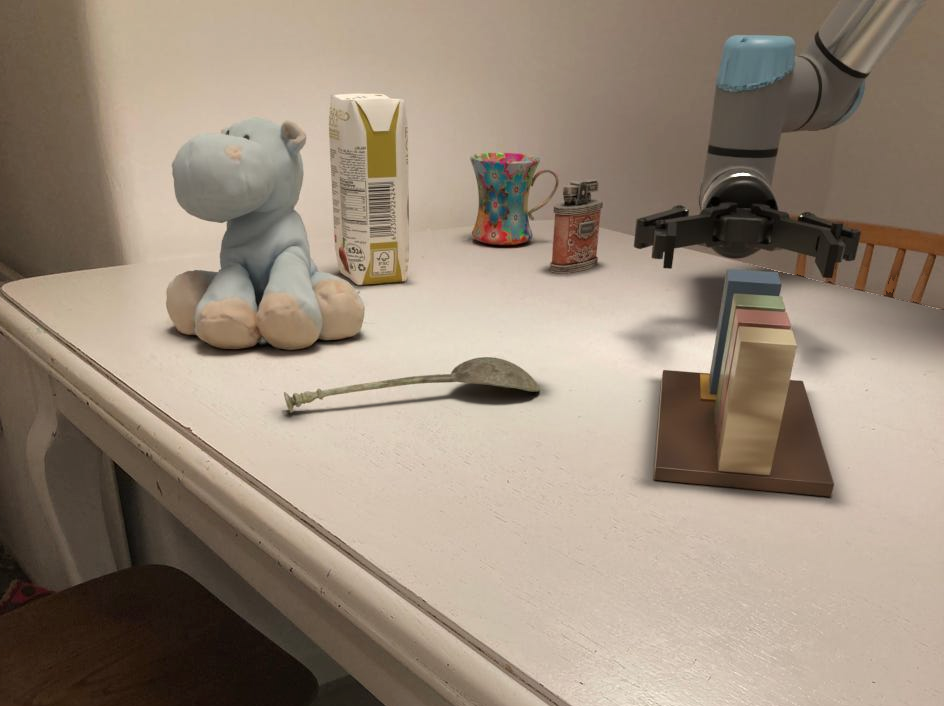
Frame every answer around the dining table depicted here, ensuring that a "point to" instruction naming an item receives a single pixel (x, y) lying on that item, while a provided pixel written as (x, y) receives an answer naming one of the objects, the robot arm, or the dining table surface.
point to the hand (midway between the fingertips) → (749, 256)
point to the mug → (505, 196)
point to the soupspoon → (439, 380)
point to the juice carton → (370, 187)
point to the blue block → (733, 285)
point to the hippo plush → (255, 245)
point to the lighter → (576, 228)
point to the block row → (744, 413)
